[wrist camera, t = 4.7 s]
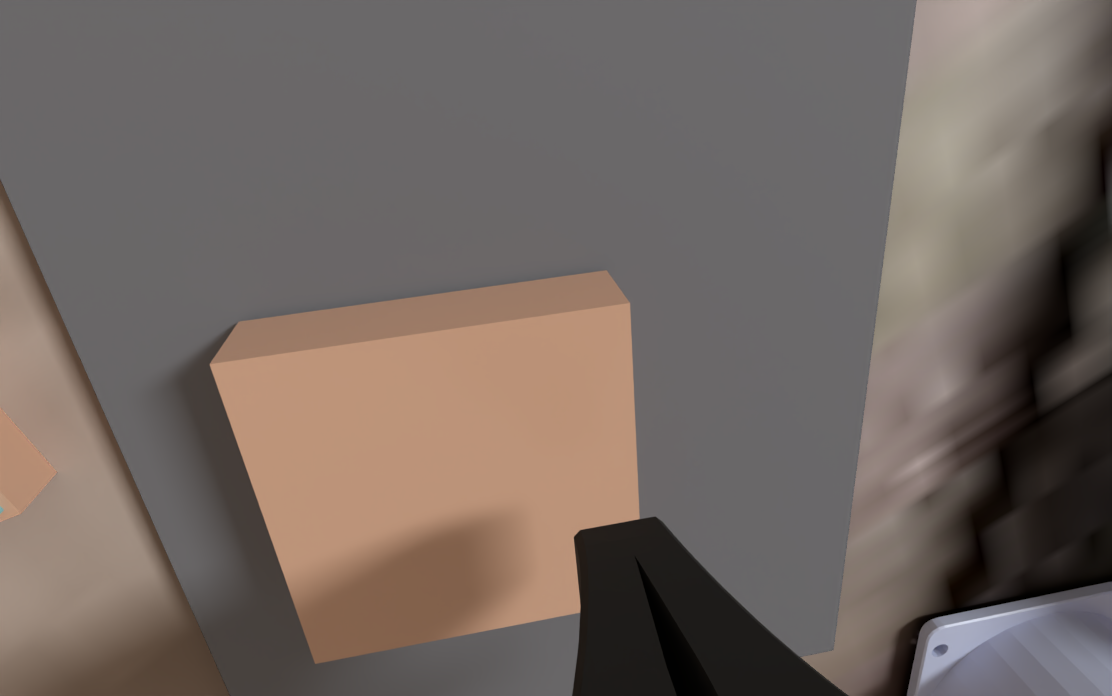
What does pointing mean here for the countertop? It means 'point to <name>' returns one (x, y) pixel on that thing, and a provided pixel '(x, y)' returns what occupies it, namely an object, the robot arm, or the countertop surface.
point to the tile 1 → (19, 470)
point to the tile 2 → (436, 454)
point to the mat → (472, 256)
